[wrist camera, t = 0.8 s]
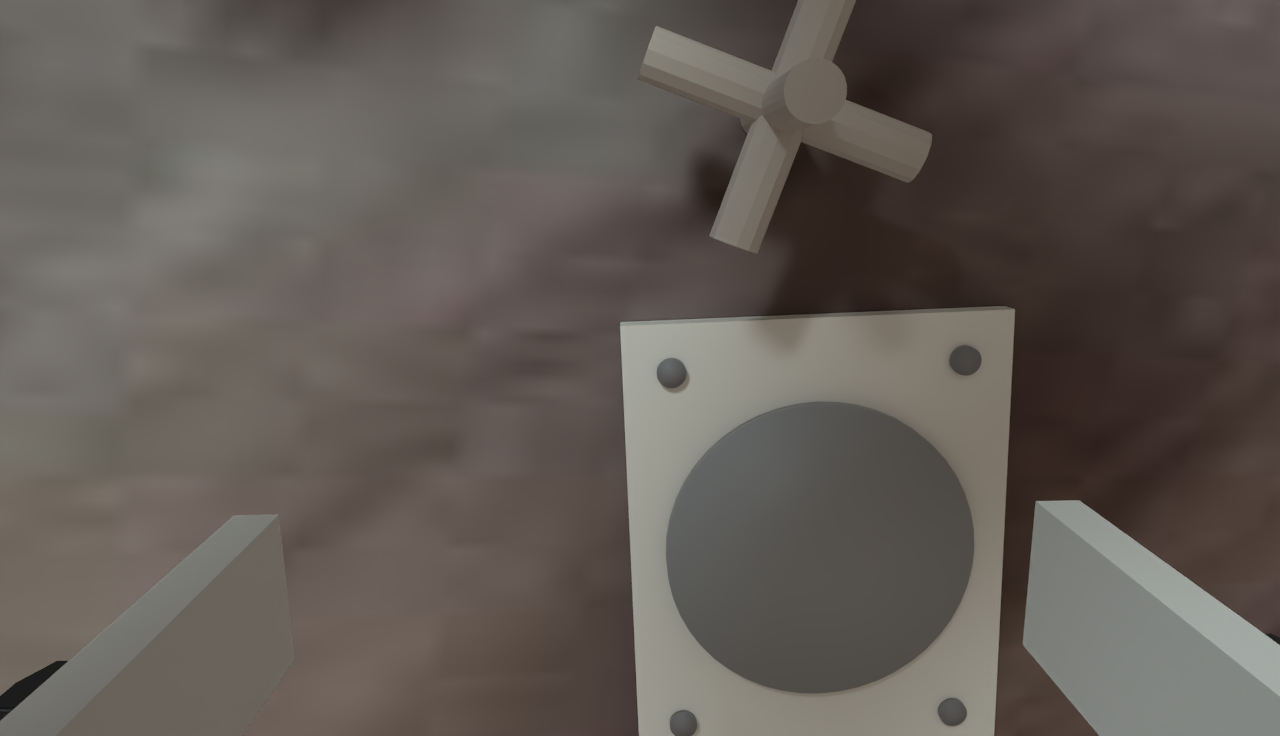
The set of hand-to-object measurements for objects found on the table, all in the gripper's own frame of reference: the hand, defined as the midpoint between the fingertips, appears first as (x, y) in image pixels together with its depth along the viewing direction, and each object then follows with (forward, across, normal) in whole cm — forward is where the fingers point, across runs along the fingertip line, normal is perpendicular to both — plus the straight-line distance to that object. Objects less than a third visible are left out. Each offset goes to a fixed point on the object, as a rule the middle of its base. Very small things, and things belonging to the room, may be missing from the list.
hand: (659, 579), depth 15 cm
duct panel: (+22, +8, -9) cm, 25 cm away
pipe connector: (+22, +5, +9) cm, 24 cm away
